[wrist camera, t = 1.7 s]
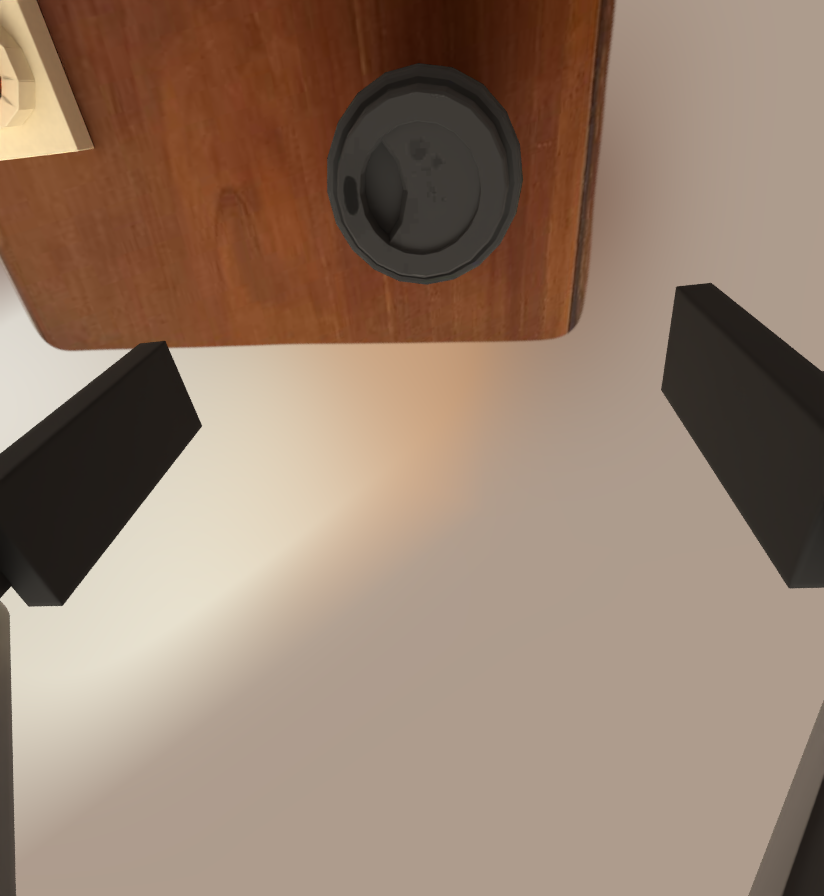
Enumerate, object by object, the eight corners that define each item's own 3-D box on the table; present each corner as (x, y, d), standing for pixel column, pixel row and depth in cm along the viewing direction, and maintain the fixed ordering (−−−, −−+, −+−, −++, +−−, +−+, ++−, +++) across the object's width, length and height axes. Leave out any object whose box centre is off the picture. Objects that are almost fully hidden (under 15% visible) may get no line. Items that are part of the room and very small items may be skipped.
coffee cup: (353, 74, 38) (299, 70, 25) (512, 63, 36) (535, 52, 24) (369, 239, 44) (332, 298, 32) (505, 233, 43) (520, 293, 31)
